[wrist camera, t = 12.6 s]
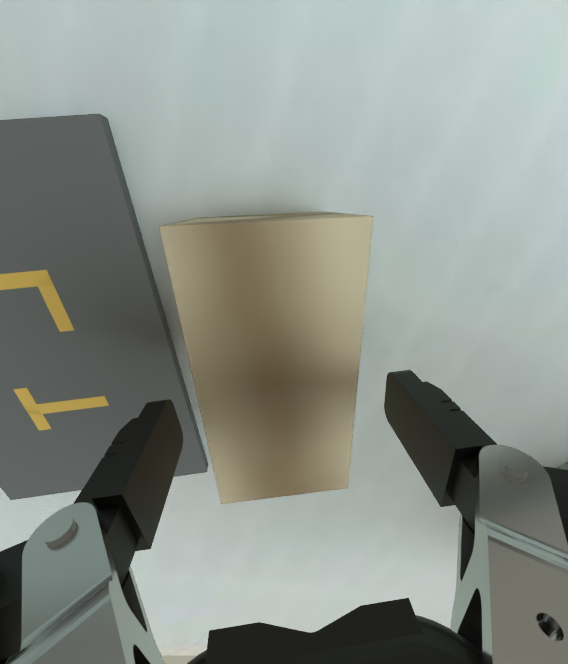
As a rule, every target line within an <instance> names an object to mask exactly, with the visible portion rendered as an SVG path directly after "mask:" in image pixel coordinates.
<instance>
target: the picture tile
mask: <svg viewBox="0 0 568 664" xmlns="http://www.w3.org/2000/svg"><path fill="white" fill-rule="evenodd" d="M168 399H170V400H172V402H173V404H174V407H175V410H176V413H177V416H178V419H179V422H180V425H181V428H182V432H183V447H182V451H181V454H180V457H179V460H178V463H177V467H176V470H175V473H174V476H173V477H175V476H182V475H189V474H196V473H203V472H207V468H208V463H207V459H206V456H205V452H204V449H203V445H202V442H201V439H200V435H199V432H198V428H197V425H196V421H195V418H194V415H193V411H192V408H191V404H190V401H189V397H188V394H187V391H186V387H185V384H184V380H183V377H182V373H181V370H180V367H179V363H178V360H177V356H176V353H175V349H174V346H173V343H172V339H171V336H170V332H169V329H168V325H167V322H166V319H165V315H164V312H163V308H162V305H161V301H160V298H159V295H158V291H157V288H156V284H155V281H154V277H153V274H152V271H151V267H150V264H149V260H148V257H147V253H146V250H145V247H144V243H143V240H142V236H141V233H140V229H139V226H138V223H137V219H136V216H135V212H134V209H133V205H132V202H131V199H130V195H129V192H128V188H127V185H126V181H125V178H124V175H123V171H122V168H121V164H120V161H119V157H118V154H117V151H116V147H115V144H114V140H113V137H112V133H111V130H110V126H109V123H108V120H107V118H106V117H104V116H102V115H101V114H88V115H73V116H58V117H43V118H28V119H12V120H0V487H1V488H2V490H3V491H4V492H5V493H6V495H7V496H8V497H9V498H10V499H11V500H14V499H21V498H28V497H35V496H42V495H49V494H56V493H63V492H70V491H77V490H82V489H83V488H84V486H85V485H86V483H87V481H88V480H89V478H90V477H91V475H92V473H93V472H94V470H95V469H96V467H97V465H98V464H99V462H100V461H101V459H102V458H103V457H104V454H105V453H106V451H107V449H108V448H109V446H111V443H112V442H113V440H114V438H115V437H116V435H117V434H118V432H119V430H120V429H122V428H123V427H124V426H125V425H126V424H127V423H128V422H129V421H130V420H131V419H132V418H138V417H139V415H140V413H141V411H142V410H143V408H144V406H145V405H146V403H148V402H152V401H160V400H168Z"/></svg>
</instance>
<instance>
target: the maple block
mask: <svg viewBox="0 0 568 664" xmlns="http://www.w3.org/2000/svg"><path fill="white" fill-rule="evenodd" d="M372 223H373V216H367V215H356V214H344V213H333V212H311V213H290V214H269V215H248V216H227V217H206V218H196V219H191V220H187V221H182V222H178V223H173V224H169V225H164V226H160V227H159V229H160V233H161V238H162V242H163V247H164V251H165V255H166V260H167V264H168V269H169V273H170V278H171V282H172V287H173V291H174V296H175V300H176V305H177V309H178V313H179V318H180V322H181V327H182V331H183V336H184V340H185V345H186V349H187V354H188V358H189V363H190V367H191V371H192V376H193V380H194V385H195V389H196V394H197V398H198V403H199V407H200V412H201V416H202V421H203V425H204V430H205V434H206V438H207V443H208V447H209V452H210V456H211V461H212V465H213V470H214V474H215V479H216V483H217V488H218V492H219V496H220V501H221V504H226V503H234V502H242V501H250V500H257V499H265V498H273V497H281V496H289V495H297V494H305V493H313V492H321V491H329V490H336V489H344V488H348V480H349V469H350V458H351V448H352V437H353V426H354V415H355V405H356V394H357V383H358V373H359V362H360V351H361V341H362V330H363V319H364V308H365V298H366V287H367V276H368V266H369V255H370V244H371V233H372Z"/></svg>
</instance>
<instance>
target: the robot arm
mask: <svg viewBox="0 0 568 664" xmlns="http://www.w3.org/2000/svg"><path fill="white" fill-rule="evenodd" d="M384 408H385V414H386V417H387V420H388V422H389V424H390V425H391V427H392V428H393V430H394V432H395V433H396V435H397V437H398V438H399V440H400V441H401V443H402V445H403V446H404V448H405V450H406V451H407V453H408V454H409V456H410V458H411V459H412V461H413V463H414V464H415V466H416V467H417V469H418V471H419V472H420V474H421V476H422V477H423V479H424V480H425V482H426V484H427V485H428V487H429V488H430V490H431V492H432V493H433V495H434V497H435V498H436V500H437V501H438V503H439V505H440V506H441V507H444V506H451V505H456V507H457V508H458V510H459V511H460V513H461V515H460V519H459V536H458V558H457V580H456V592H455V599H454V604H453V610H452V618H451V629H449V628H447V627H445V626H443V625H441V624H439V623H437V622H435V621H433V620H430V619H427V618H424V617H421V616H417V615H415V613H414V611H413V608H412V606H411V603H410V601H409V598H405V599H399V600H393V601H387V602H381V603H375V604H369V605H363V606H360V607H358V608H356V609H355V610H353V611H351V612H349V613H348V614H346V615H344V616H343V617H341V618H339V619H337V620H336V621H334V622H332V623H331V624H329V625H327V626H325V627H324V628H322V629H320V630H319V631H316V632H313V633H308V632H303V631H298V630H293V629H288V628H284V627H279V626H274V625H269V624H265V623H260V622H259V623H253V624H247V625H241V626H235V627H229V628H222V629H216V630H210V631H209V638H208V646H207V650H206V651H204V652H202V653H201V654H199V655H198V656H196V657H195V658H194V659H193V660H191V661H190V662H188V663H187V664H568V462H567V463H565V464H563V465H561V466H559V467H558V468H550V467H543V466H542V465H541V464H539V463H538V462H537V461H536V460H535V459H533V458H532V457H530V456H529V455H527V454H525V453H523V452H521V451H519V450H517V449H514V448H511V447H508V446H503V445H497V444H496V443H495V442H494V441H493V440H492V439H491V438H490V437H489V436H488V435H487V434H486V433H485V432H484V431H483V430H482V429H481V428H480V427H479V426H478V425H477V424H476V423H475V422H474V421H473V420H472V419H471V418H470V417H469V416H468V415H467V414H466V413H465V412H464V411H461V409H460V407H459V406H458V405H457V404H456V403H455V402H452V400H451V399H450V398H449V397H448V396H447V395H446V394H445V393H444V392H443V391H442V390H441V389H439V388H438V387H436V386H434V385H432V384H430V383H429V382H422V381H421V380H420V379H419V378H418V377H417V376H416V375H415V374H414V373H413V372H412V371H411V370H405V371H397V372H390V373H388V375H387V381H386V392H385V403H384ZM182 447H183V432H182V428H181V425H180V422H179V419H178V416H177V413H176V410H175V407H174V404H173V402H172V400H170V399H168V400H160V401H152V402H148V403H146V405H145V406H144V408H143V410H142V411H141V413H140V415H139V417H138V418H132V419H131V420H130V421H129V422H128V423H127V424H126V425H125V426H124V427H123V428H122V429H120V430H119V432H118V434H117V435H116V437H115V438H114V440H113V442H112V443H111V446H109V448H108V449H107V451H106V453H105V454H104V457H103V458H102V459H101V461H100V462H99V464H98V465H97V467H96V469H95V470H94V472H93V473H92V475H91V477H90V478H89V480H88V481H87V483H86V485H85V486H84V488H83V489H82V491H81V493H80V494H79V496H78V497H77V499H76V501H75V502H74V504H72V505H69V506H67V507H64V508H63V509H61V510H59V511H57V512H56V513H54V514H53V515H51V516H50V517H49V518H47V519H46V520H45V521H44V522H43V523H42V524H41V525H40V526H39V527H38V528H37V529H36V530H35V531H34V533H33V534H32V535H31V536H30V538H29V539H28V540H27V541H24V542H22V543H20V544H17V545H15V546H13V547H10V548H8V549H5V550H3V551H1V552H0V664H165V662H164V660H163V658H162V655H161V653H160V651H159V649H158V647H157V645H156V642H155V640H154V637H153V634H152V631H151V628H150V625H149V622H148V618H147V615H146V612H145V609H144V606H143V603H142V600H141V597H140V593H139V590H138V587H137V584H136V581H135V578H134V575H133V571H132V569H131V567H130V564H131V561H132V559H133V556H134V553H135V551H139V550H146V549H151V546H152V543H153V539H154V536H155V533H156V530H157V527H158V524H159V520H160V517H161V514H162V511H163V508H164V505H165V501H166V498H167V495H168V492H169V489H170V486H171V482H172V479H173V476H174V473H175V470H176V467H177V463H178V460H179V457H180V454H181V451H182Z"/></svg>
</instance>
